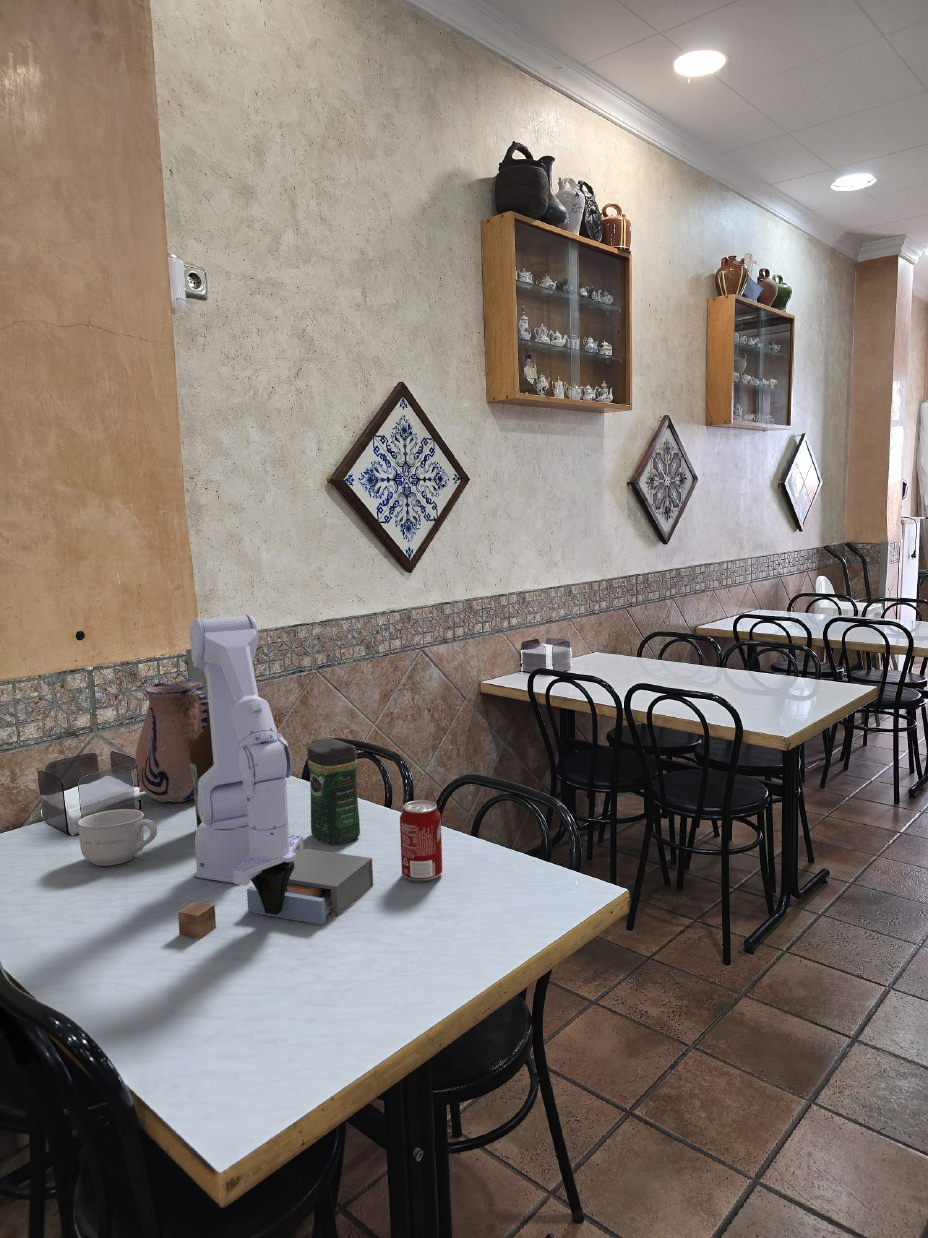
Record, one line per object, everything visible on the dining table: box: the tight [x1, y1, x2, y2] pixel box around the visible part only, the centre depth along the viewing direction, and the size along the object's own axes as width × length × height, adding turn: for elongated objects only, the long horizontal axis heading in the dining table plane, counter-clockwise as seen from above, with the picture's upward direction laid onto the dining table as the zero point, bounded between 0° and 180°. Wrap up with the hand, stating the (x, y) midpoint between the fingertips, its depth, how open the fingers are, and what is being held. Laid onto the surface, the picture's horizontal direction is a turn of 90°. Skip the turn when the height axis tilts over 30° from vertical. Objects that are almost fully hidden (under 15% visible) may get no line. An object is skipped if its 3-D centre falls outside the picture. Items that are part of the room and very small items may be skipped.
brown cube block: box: [177, 901, 217, 940], centre depth 119 cm, size 4×4×4 cm
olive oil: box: [190, 704, 240, 830], centre depth 159 cm, size 11×11×25 cm
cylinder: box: [287, 883, 322, 898], centre depth 128 cm, size 5×5×2 cm
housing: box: [288, 847, 374, 917], centre depth 131 cm, size 14×11×5 cm
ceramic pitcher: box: [134, 680, 209, 803], centre depth 180 cm, size 18×21×25 cm
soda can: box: [399, 799, 443, 883], centre depth 136 cm, size 7×7×12 cm
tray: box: [246, 885, 332, 926], centre depth 127 cm, size 13×11×4 cm
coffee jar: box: [307, 737, 361, 845], centre depth 155 cm, size 10×8×19 cm
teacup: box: [77, 808, 158, 867], centre depth 146 cm, size 14×11×8 cm
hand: (273, 912), depth 122 cm, fingers closed
